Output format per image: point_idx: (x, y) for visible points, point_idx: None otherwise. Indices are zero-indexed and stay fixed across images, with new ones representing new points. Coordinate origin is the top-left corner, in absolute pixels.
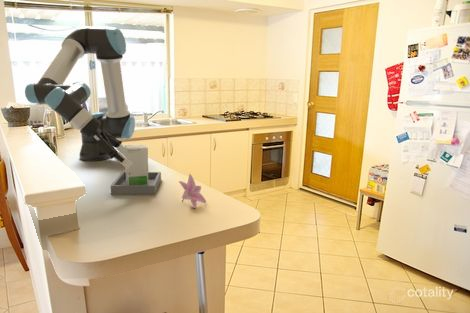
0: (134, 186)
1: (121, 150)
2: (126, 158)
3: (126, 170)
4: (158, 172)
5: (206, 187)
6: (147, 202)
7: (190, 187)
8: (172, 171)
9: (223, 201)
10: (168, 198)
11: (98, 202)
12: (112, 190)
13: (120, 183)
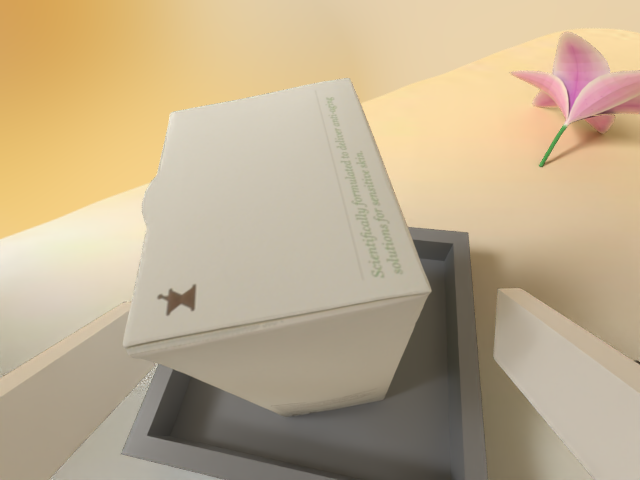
0: (474, 341)
1: (41, 447)
2: (570, 330)
3: (359, 388)
4: None
5: (370, 101)
6: (568, 287)
7: (577, 84)
8: (128, 192)
9: (508, 72)
10: (499, 206)
11: None
12: None
13: (279, 461)
